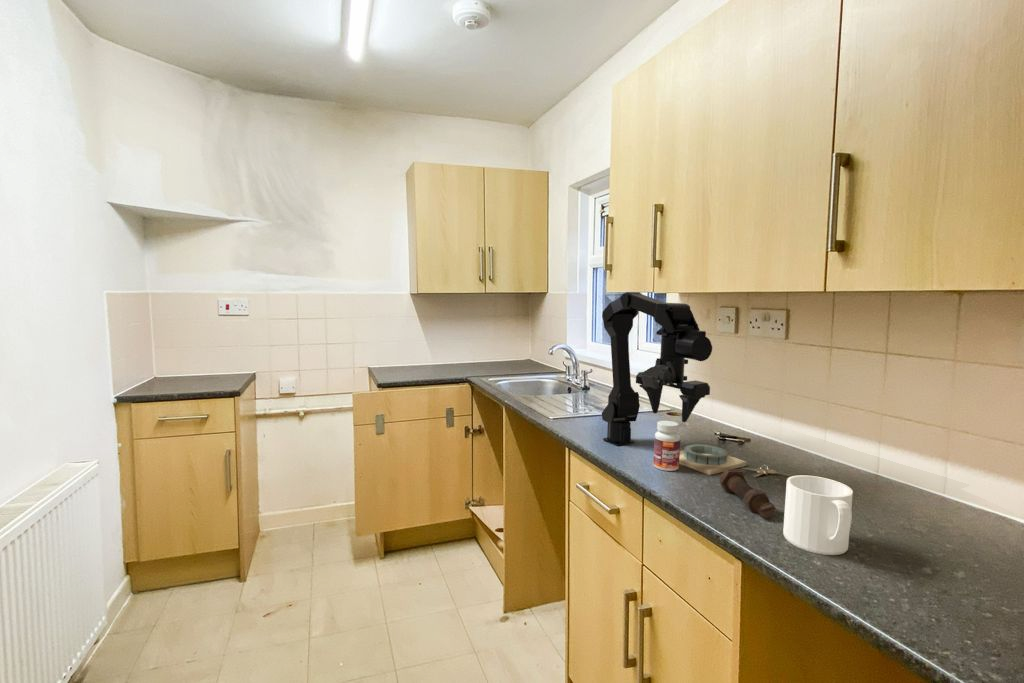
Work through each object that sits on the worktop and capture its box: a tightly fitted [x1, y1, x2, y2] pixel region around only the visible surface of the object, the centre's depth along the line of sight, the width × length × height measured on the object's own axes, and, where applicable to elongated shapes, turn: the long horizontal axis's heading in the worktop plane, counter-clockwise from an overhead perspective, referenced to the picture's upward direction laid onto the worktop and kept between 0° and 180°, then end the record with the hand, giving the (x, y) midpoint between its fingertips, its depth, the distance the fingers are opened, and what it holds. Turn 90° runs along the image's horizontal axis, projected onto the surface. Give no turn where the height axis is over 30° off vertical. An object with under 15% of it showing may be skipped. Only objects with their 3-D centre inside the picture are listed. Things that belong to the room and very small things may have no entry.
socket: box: [679, 443, 748, 476], centre depth 133 cm, size 14×14×3 cm
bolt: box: [719, 468, 777, 519], centre depth 107 cm, size 6×5×15 cm
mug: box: [782, 474, 854, 556], centre depth 90 cm, size 13×10×10 cm
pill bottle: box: [653, 420, 681, 472], centre depth 128 cm, size 6×6×11 cm
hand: (669, 417), depth 127 cm, fingers open, 9 cm apart
